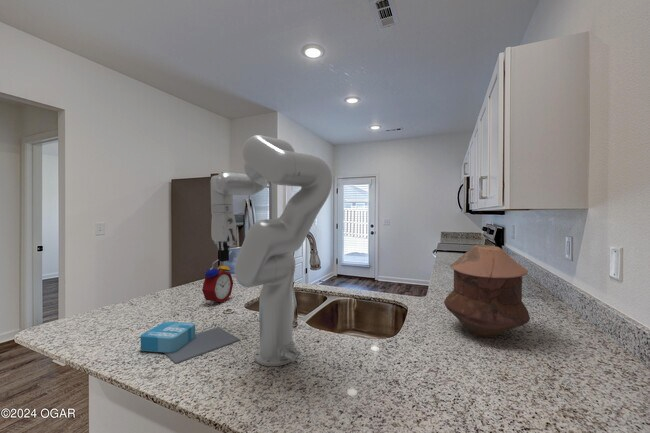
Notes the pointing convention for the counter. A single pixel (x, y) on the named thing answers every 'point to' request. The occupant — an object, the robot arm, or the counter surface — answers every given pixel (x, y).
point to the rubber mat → (203, 344)
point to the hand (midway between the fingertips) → (223, 260)
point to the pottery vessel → (487, 291)
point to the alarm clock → (217, 284)
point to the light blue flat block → (168, 337)
